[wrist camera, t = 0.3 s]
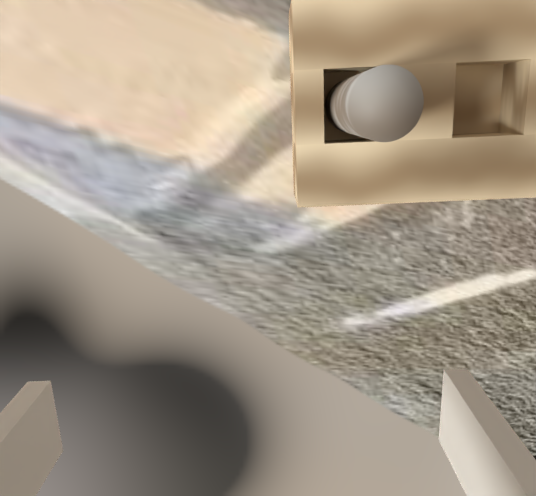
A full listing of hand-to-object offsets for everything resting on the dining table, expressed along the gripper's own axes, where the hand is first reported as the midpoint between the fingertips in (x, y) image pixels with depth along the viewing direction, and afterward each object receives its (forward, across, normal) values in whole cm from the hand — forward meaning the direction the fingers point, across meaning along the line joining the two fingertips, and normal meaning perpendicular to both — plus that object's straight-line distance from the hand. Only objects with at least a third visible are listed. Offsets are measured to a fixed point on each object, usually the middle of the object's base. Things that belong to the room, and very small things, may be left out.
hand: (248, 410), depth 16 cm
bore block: (+27, +12, +10) cm, 31 cm away
